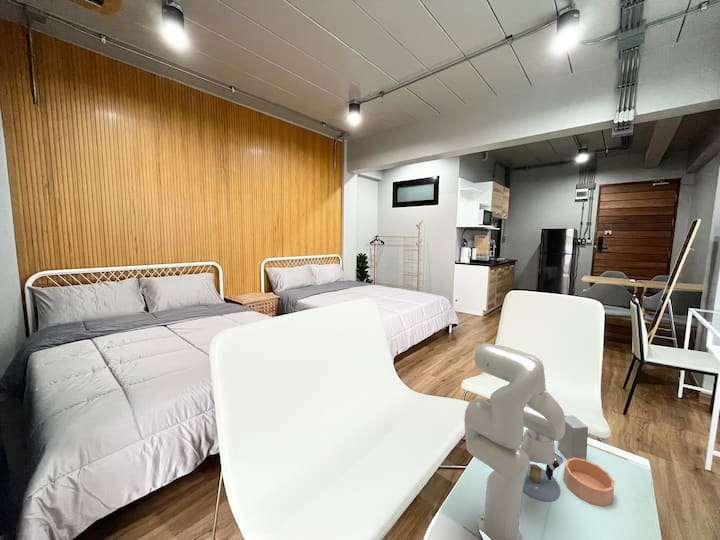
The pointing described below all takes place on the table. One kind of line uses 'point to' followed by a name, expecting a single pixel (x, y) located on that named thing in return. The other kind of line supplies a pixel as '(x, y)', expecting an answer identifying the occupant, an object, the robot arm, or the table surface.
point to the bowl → (589, 481)
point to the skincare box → (574, 439)
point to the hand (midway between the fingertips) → (535, 474)
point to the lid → (540, 485)
